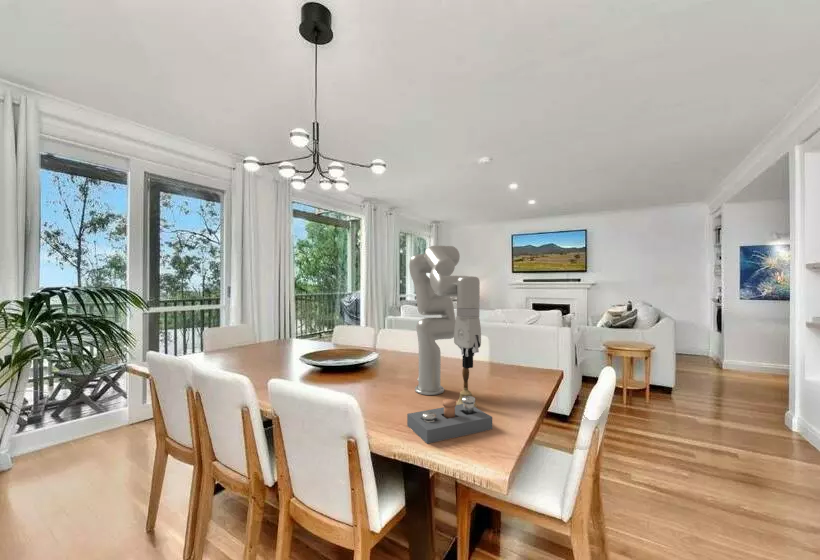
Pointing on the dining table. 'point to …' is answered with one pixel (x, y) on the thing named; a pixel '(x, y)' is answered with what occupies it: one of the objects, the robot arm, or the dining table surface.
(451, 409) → the peach grooved knob
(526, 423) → the dining table surface
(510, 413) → the dining table surface
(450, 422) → the panel
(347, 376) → the dining table surface
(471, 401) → the silver rounded piece
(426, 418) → the ball
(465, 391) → the hand bell
